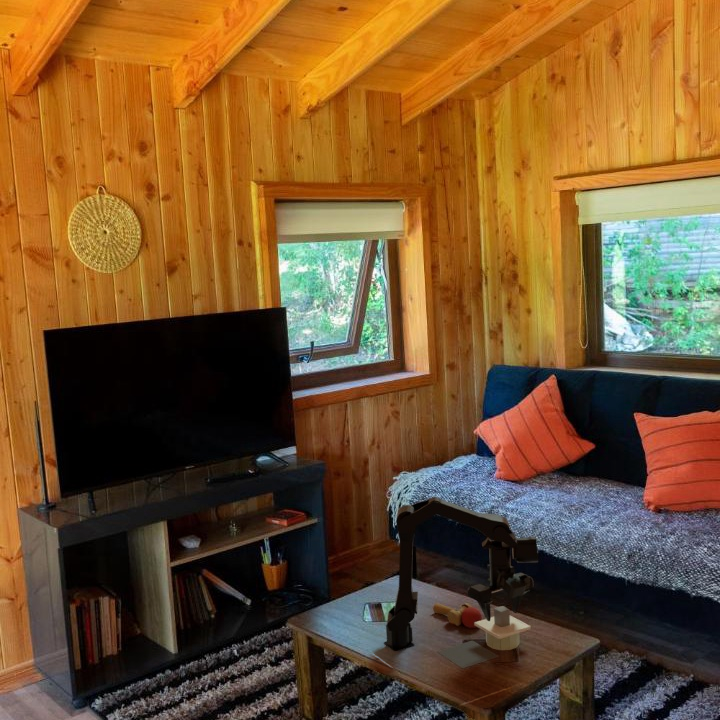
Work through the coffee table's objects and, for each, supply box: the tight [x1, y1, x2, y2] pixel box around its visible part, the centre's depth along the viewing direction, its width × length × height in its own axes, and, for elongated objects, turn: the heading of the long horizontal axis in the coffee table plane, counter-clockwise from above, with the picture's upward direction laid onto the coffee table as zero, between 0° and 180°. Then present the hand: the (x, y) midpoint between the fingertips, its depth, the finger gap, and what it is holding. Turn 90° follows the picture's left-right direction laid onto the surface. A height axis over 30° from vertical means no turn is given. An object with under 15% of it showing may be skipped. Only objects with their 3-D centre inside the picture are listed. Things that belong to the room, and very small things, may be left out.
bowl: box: [485, 632, 521, 651], centre depth 251 cm, size 9×9×5 cm
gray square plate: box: [437, 640, 500, 669], centre depth 246 cm, size 12×12×1 cm
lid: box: [474, 605, 532, 639], centre depth 250 cm, size 11×11×5 cm
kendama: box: [432, 602, 483, 629], centre depth 268 cm, size 8×6×18 cm
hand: (501, 616), depth 250 cm, fingers open, 9 cm apart
